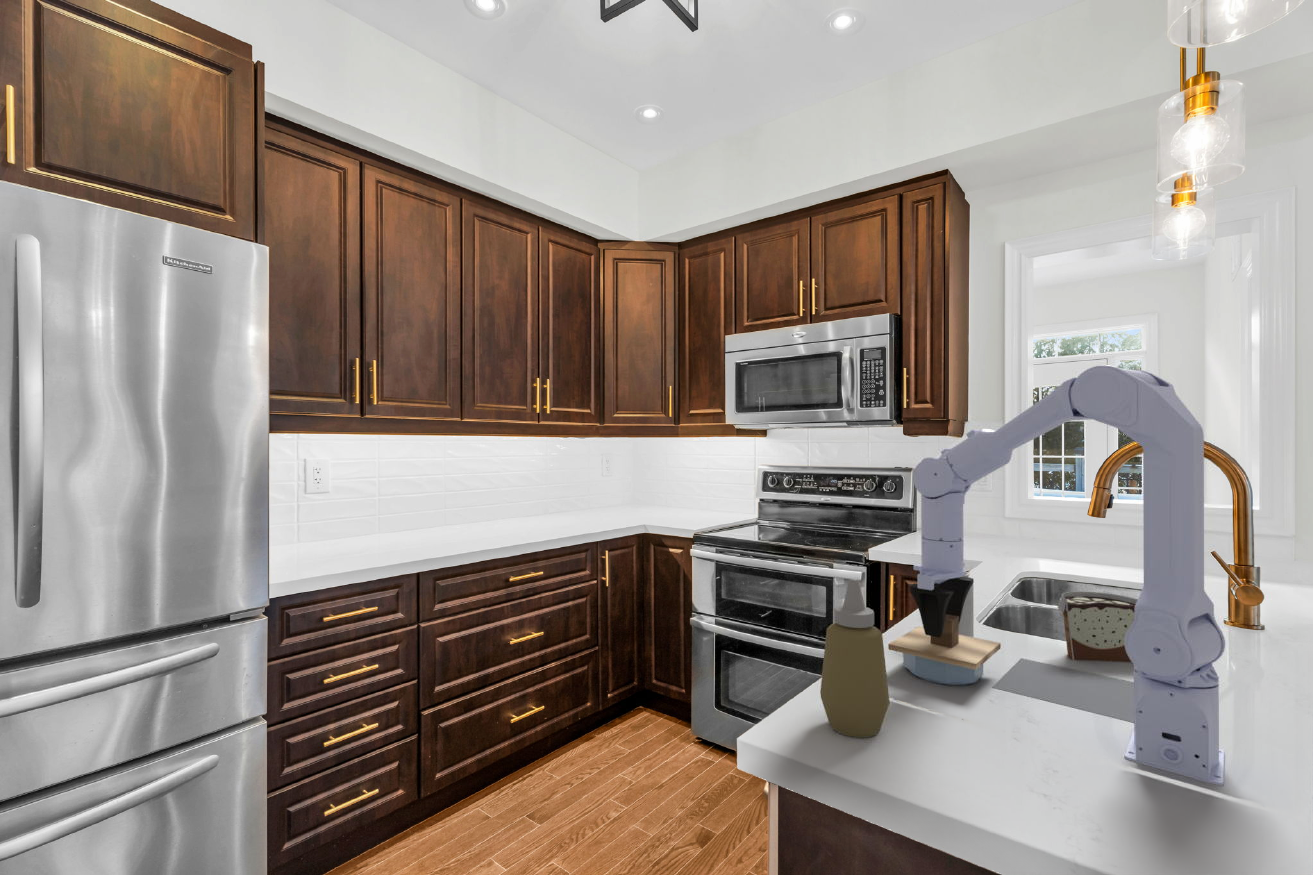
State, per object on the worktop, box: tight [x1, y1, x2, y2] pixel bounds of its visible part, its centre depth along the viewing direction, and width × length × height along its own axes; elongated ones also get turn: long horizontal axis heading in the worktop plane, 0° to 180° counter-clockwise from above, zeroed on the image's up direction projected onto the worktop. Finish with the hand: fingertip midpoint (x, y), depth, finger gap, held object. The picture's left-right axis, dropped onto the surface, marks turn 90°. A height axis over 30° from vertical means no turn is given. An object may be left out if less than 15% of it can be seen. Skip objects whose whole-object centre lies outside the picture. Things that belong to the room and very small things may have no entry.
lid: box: [887, 614, 1002, 670], centre depth 92 cm, size 12×12×5 cm
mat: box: [991, 658, 1134, 724], centre depth 87 cm, size 16×16×1 cm
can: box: [959, 570, 975, 638], centre depth 109 cm, size 8×8×12 cm
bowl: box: [902, 653, 984, 686], centre depth 92 cm, size 10×10×4 cm
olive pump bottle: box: [819, 578, 891, 738], centre depth 75 cm, size 8×8×18 cm
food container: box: [1057, 591, 1138, 663], centre depth 100 cm, size 12×6×10 cm, turn 84°
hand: (942, 629), depth 92 cm, fingers open, 7 cm apart
